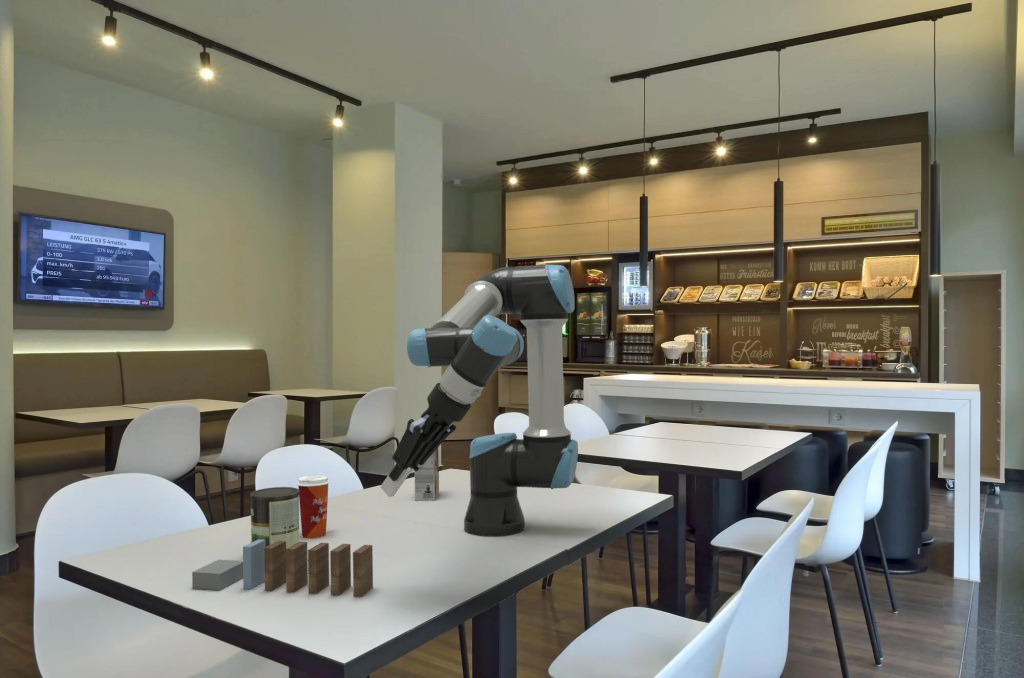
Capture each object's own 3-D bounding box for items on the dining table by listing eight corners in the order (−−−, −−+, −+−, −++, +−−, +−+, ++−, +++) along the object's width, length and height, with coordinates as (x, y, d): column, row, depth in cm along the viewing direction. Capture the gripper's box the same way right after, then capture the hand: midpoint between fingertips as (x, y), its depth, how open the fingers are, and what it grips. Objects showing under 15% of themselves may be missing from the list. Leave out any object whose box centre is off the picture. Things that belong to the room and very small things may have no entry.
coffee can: (244, 563, 148) (244, 497, 148) (258, 550, 158) (257, 487, 158) (294, 561, 149) (293, 495, 149) (304, 548, 159) (304, 486, 159)
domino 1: (265, 580, 136) (265, 539, 137) (251, 589, 132) (250, 547, 132) (258, 580, 137) (258, 539, 137) (243, 589, 132) (242, 546, 132)
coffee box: (418, 494, 215) (418, 442, 216) (439, 494, 215) (438, 442, 216) (414, 501, 206) (413, 446, 207) (435, 500, 206) (435, 446, 206)
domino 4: (329, 584, 134) (328, 542, 134) (316, 593, 129) (315, 550, 129) (321, 584, 134) (321, 542, 134) (308, 593, 129) (307, 550, 129)
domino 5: (351, 586, 133) (350, 544, 133) (338, 595, 128) (338, 551, 128) (343, 585, 133) (342, 543, 133) (330, 594, 128) (330, 551, 128)
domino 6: (373, 587, 132) (372, 545, 132) (361, 596, 127) (361, 552, 127) (365, 587, 132) (364, 544, 132) (353, 596, 127) (352, 552, 127)
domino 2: (286, 582, 136) (286, 540, 136) (272, 591, 131) (271, 548, 131) (279, 581, 136) (278, 540, 136) (264, 590, 131) (264, 547, 131)
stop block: (245, 576, 139) (245, 561, 139) (220, 590, 131) (220, 573, 131) (218, 574, 140) (218, 559, 141) (192, 588, 133) (192, 572, 133)
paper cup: (321, 540, 165) (320, 480, 165) (291, 538, 167) (290, 480, 167) (336, 531, 173) (335, 474, 173) (307, 530, 174) (306, 474, 175)
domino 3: (307, 583, 135) (307, 541, 135) (294, 592, 130) (293, 549, 130) (300, 583, 135) (299, 541, 135) (286, 591, 130) (285, 548, 130)
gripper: (448, 405, 119) (376, 509, 124) (487, 406, 130) (419, 501, 135) (421, 378, 122) (352, 480, 127) (461, 382, 134) (396, 475, 139)
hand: (386, 491), depth 131 cm, fingers closed
